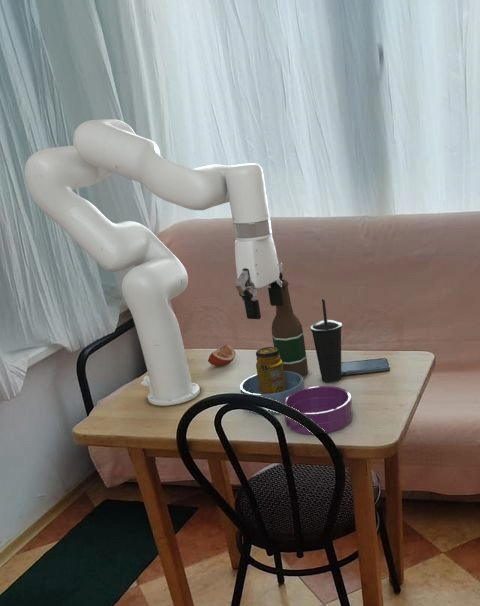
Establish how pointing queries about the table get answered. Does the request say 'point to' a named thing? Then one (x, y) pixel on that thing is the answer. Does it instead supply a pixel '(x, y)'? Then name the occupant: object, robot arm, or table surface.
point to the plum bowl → (321, 408)
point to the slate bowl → (292, 385)
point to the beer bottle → (289, 336)
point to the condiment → (270, 371)
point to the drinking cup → (328, 347)
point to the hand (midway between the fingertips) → (266, 311)
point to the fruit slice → (222, 356)
